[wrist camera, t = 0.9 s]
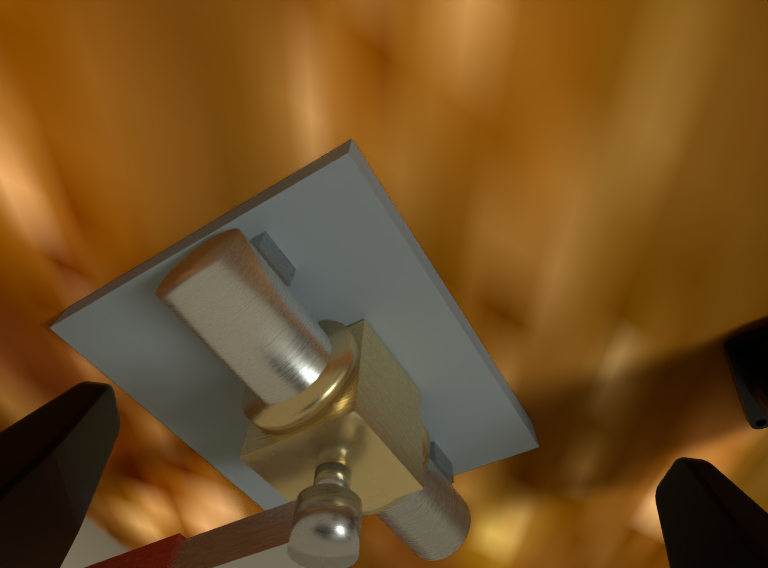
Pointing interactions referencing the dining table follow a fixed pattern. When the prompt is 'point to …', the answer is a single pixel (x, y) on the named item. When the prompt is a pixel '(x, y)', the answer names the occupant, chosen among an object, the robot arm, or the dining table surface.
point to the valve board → (323, 302)
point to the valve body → (317, 393)
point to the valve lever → (266, 538)
